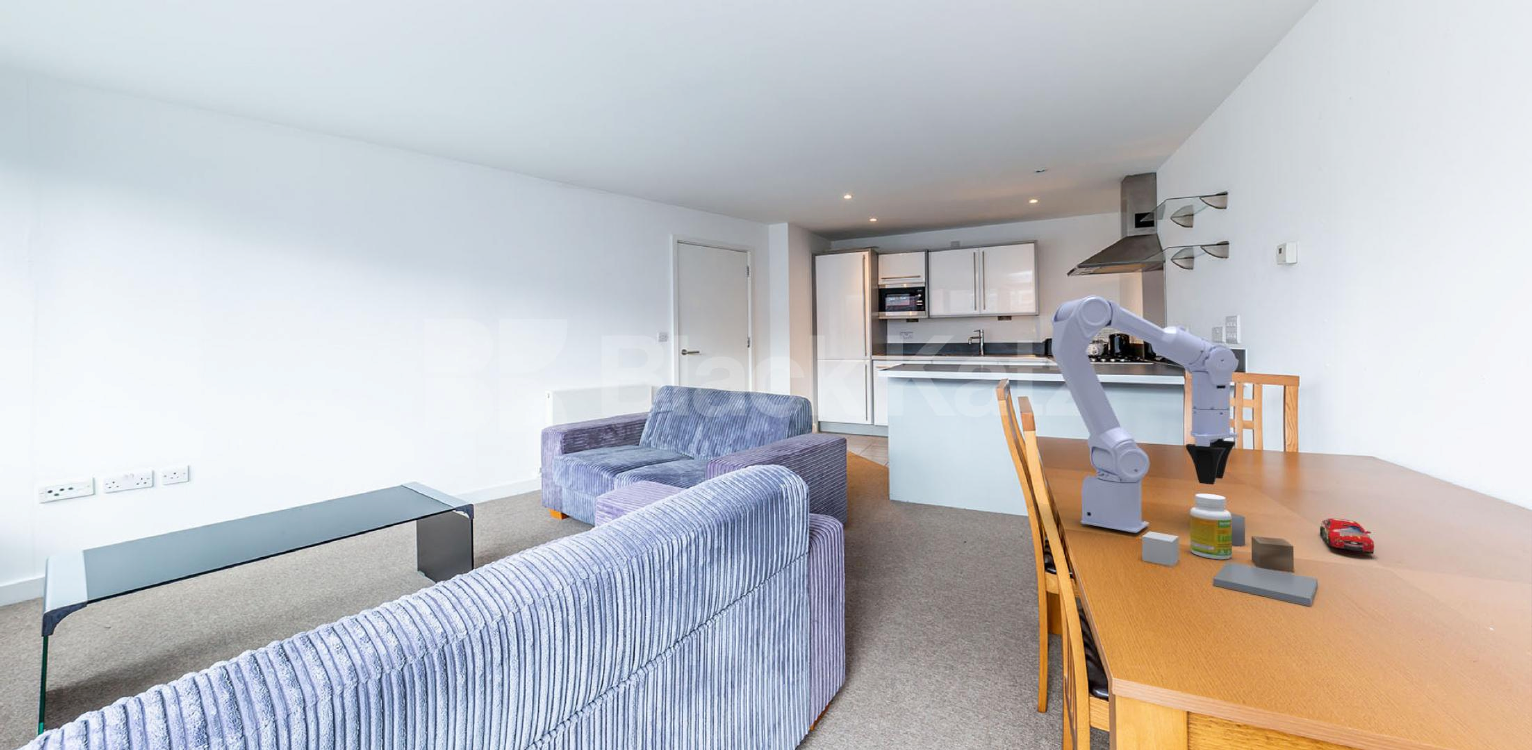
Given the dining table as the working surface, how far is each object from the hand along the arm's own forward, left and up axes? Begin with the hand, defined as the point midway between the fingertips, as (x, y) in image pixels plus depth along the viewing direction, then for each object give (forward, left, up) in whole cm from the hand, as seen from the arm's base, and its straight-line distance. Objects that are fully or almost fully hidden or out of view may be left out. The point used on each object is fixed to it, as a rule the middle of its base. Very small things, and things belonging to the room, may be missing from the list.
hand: (1211, 480), depth 107 cm
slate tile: (+11, -28, -9) cm, 32 cm away
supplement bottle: (+3, -17, -10) cm, 20 cm away
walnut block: (+11, -17, -10) cm, 22 cm away
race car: (+19, -1, -11) cm, 22 cm away
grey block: (-2, -26, -10) cm, 28 cm away
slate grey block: (+4, -8, -9) cm, 13 cm away
